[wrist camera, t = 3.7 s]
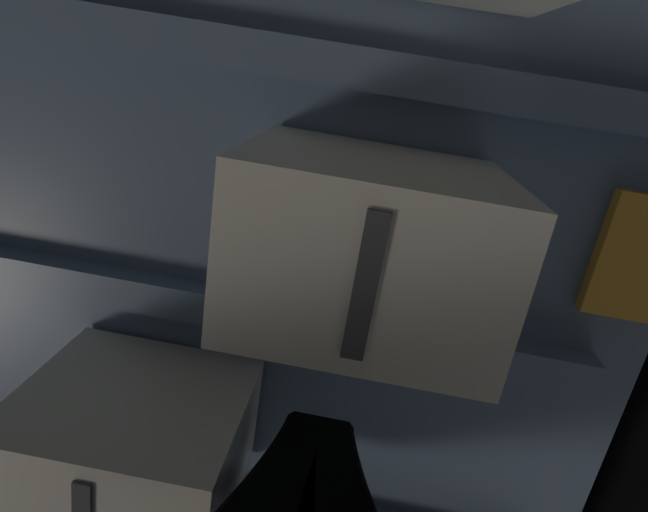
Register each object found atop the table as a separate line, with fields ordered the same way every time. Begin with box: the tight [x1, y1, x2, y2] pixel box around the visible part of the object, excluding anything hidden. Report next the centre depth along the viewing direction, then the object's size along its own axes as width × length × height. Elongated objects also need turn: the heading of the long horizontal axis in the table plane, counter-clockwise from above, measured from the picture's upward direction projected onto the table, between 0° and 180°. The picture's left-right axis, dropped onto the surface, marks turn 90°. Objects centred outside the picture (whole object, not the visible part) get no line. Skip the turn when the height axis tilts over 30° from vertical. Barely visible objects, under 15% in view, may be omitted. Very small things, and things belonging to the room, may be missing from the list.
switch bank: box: [0, 0, 648, 512], centre depth 10 cm, size 17×18×3 cm
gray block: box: [201, 125, 558, 404], centre depth 8 cm, size 3×4×4 cm, turn 81°
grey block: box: [0, 327, 264, 512], centre depth 10 cm, size 3×4×4 cm, turn 81°
